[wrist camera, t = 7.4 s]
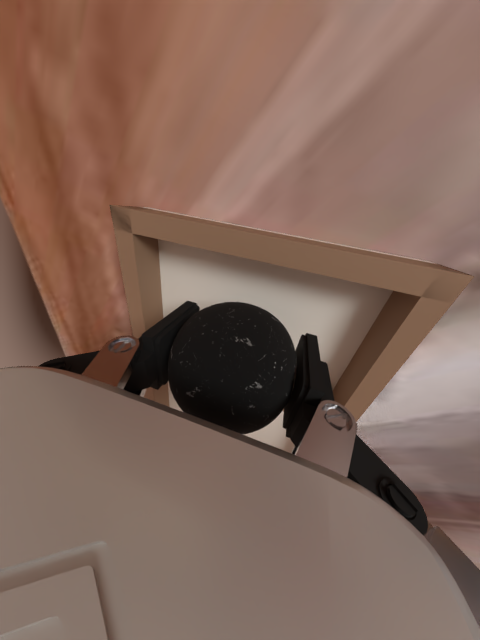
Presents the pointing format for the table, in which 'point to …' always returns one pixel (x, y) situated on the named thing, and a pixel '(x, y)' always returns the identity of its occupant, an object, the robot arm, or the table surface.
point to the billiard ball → (233, 366)
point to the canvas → (286, 294)
